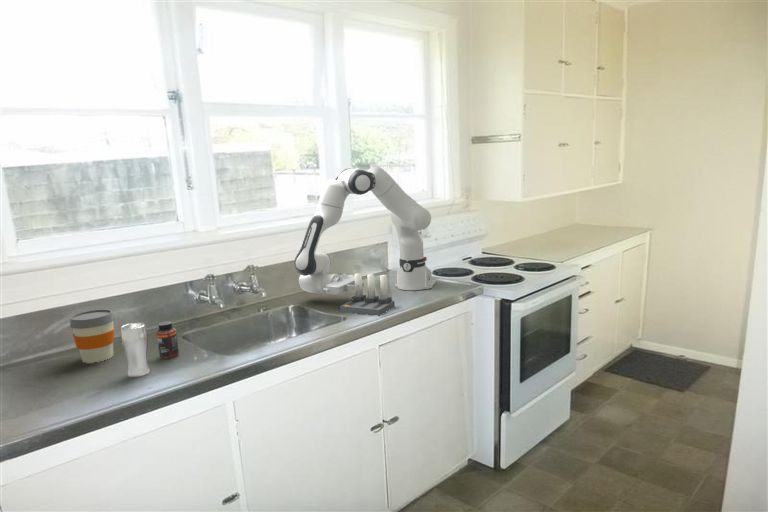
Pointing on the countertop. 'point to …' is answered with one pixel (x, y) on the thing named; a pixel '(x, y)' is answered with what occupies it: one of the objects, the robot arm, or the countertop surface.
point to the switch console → (371, 299)
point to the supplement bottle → (167, 340)
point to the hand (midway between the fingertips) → (360, 286)
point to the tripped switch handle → (359, 292)
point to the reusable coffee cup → (93, 334)
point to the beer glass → (135, 348)
